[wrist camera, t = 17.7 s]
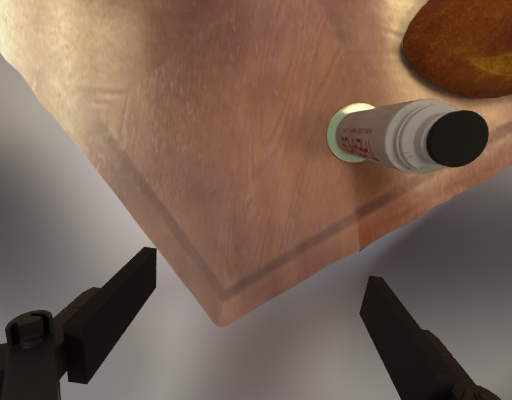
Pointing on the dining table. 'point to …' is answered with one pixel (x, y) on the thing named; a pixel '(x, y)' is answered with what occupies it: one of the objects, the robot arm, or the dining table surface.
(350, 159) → the trivet
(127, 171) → the dining table surface
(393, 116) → the thermos bottle
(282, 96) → the dining table surface
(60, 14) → the dining table surface
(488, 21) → the bread
